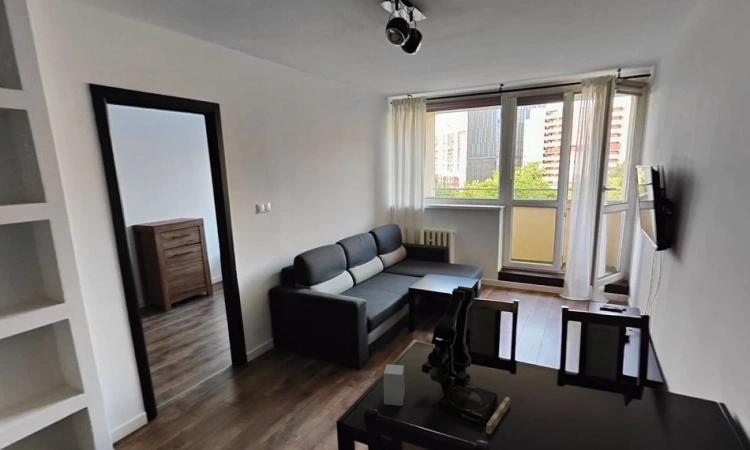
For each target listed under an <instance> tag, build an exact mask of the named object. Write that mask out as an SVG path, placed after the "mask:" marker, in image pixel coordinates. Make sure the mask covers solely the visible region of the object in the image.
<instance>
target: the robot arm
mask: <svg viewBox="0 0 750 450" xmlns="http://www.w3.org/2000/svg"><path fill="white" fill-rule="evenodd" d="M476 293H477V292H476V291H475V290H474V288H473V287H469V286H462V285H459V286H458V287H457V288H456V287H455V288H453V289H452V291H451V298H450V300H449V303H448V306H447V307H446V311H445V314H444V315H443V317H442V318H440V319H439V320H438V322H437V324H436V325H435V326H434V330H433V334H432V338H431V344H432V345H434V347H433V348H432V350H431V352H430V353H429V354H428V356H427V360H426V361H425V363H423V364H421V372H422V373H424V374H425V375H426V374H427V375H428V374H429V376H430V380H431V381H432V382H436V383H438V384H440V387H441V390H442V392H443V394H444V395H445V394H446V392H447V391H448V390H449V389H450V387H451V385H452V383H455V384H456V385H458V386H461V387H465V386H466V385H467V384H469V383H470V382H471V375H470V374H469V373H468V372H467V369H468V368H469V367H472V365H471V363H472V358H471V356H470V354H469V347H468V345H467V343H466V336H467V330H468V329H467V327H468V320H469V319H468V318H469V311H470V307H471V306H472V305H473V304H474V300H475V299H476Z"/></svg>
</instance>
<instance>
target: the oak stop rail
mask: <svg viewBox="0 0 750 450" xmlns="http://www.w3.org/2000/svg"><path fill="white" fill-rule="evenodd" d="M510 407H511V398H510V397H508V396H506V397H505V398H504V400H503V401H502V402H501V403H500V405H499V406H498V408H497V409H496V411H495V412H493V415H492V416H491V417H490V419H489V420H488V422H486V427H485V428H486V429H485V430H486V434H489V435H492V433H493V432H494V430H495V428H496V426H497V425H498V424H499V423H500V422H501V420H502V418H503V416H504V415H505V413H506V412H508V410H509V408H510Z"/></svg>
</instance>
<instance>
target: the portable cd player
mask: <svg viewBox="0 0 750 450" xmlns="http://www.w3.org/2000/svg"><path fill="white" fill-rule="evenodd" d="M497 403H498V393H496V392H494V391H490V390H487V389H485V388H481V387H477V386H474V385H471V384H469V383H468V384H467V385H466V386H465V387H461V386H458V385H456V384H455V382H453V384H451V385H450V387H449V389H448V391H447V392H446V394H445V393H444V395H443V396H442V397H441V399H440V400H438V411H440V412H442V413H445V414H448V415H449V416H453V417H456V418H458V419H461V420H462V421H466V422H468V423H471V424H474V425H477V426H479V427H482V428H484V426H485V424H486V423H487V421H488V419H489V417H490V416H491V414H492V411H494V408H495V406H496V405H497Z"/></svg>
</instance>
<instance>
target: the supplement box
mask: <svg viewBox="0 0 750 450" xmlns="http://www.w3.org/2000/svg"><path fill="white" fill-rule="evenodd" d="M404 397H405V365H400V364H399V365H398V364H387V363H386V365H385V368H384V371H383V404H384V405H389V406H391V405H392V406H403V404H404Z"/></svg>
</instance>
